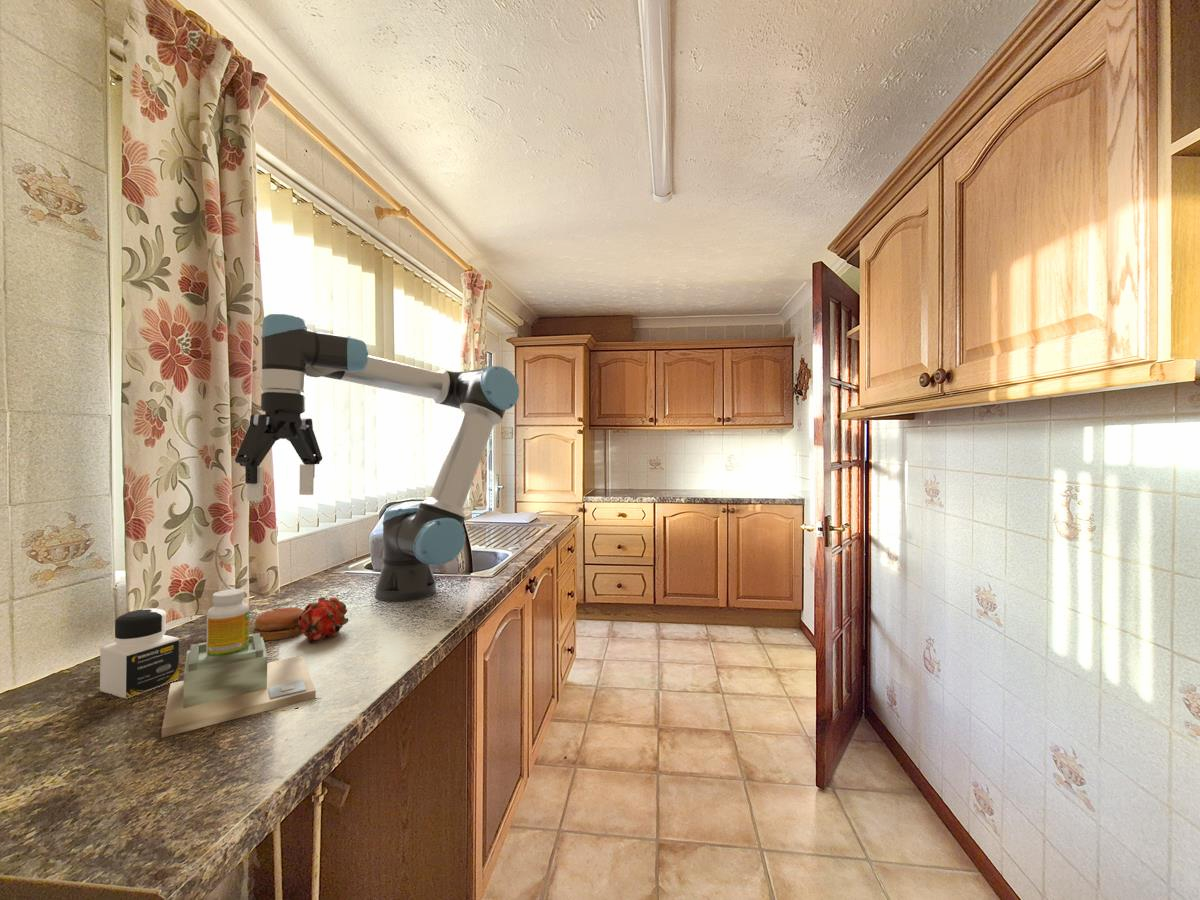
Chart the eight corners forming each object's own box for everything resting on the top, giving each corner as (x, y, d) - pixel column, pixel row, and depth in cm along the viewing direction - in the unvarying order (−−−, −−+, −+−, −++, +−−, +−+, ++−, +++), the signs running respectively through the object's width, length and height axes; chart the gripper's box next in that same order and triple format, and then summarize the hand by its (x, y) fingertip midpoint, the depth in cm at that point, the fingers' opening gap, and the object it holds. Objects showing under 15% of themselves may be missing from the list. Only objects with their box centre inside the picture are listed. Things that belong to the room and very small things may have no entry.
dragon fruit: (339, 632, 108) (314, 664, 97) (304, 612, 107) (275, 641, 95) (362, 602, 108) (340, 630, 96) (328, 581, 106) (301, 607, 95)
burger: (283, 643, 98) (283, 620, 98) (241, 640, 100) (241, 617, 100) (318, 626, 108) (318, 605, 108) (279, 623, 110) (280, 602, 110)
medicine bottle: (126, 700, 76) (127, 621, 76) (98, 691, 78) (99, 615, 78) (179, 680, 82) (180, 608, 82) (152, 673, 85) (153, 603, 85)
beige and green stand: (301, 662, 90) (302, 622, 90) (315, 697, 77) (316, 651, 77) (170, 690, 79) (171, 645, 79) (161, 737, 66) (162, 683, 66)
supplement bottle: (252, 653, 78) (253, 592, 78) (209, 664, 74) (210, 599, 74) (244, 644, 82) (245, 585, 82) (203, 653, 78) (204, 592, 78)
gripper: (310, 399, 113) (309, 492, 113) (211, 384, 88) (210, 503, 88) (340, 399, 112) (339, 492, 112) (249, 384, 87) (248, 504, 87)
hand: (282, 497), depth 100 cm, fingers open, 13 cm apart
